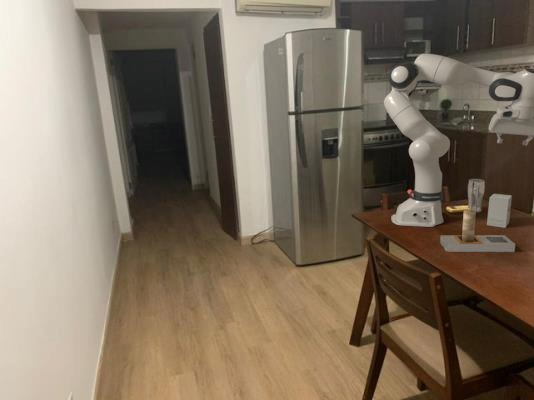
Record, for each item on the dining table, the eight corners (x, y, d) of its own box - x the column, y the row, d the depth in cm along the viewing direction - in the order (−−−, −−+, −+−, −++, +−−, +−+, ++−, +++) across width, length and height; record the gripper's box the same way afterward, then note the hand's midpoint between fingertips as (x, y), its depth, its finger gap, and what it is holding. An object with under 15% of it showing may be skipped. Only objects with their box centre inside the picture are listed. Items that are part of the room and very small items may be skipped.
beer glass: (481, 209, 190) (483, 178, 186) (483, 213, 184) (486, 182, 180) (465, 208, 193) (467, 178, 189) (467, 212, 186) (469, 182, 182)
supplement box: (506, 228, 164) (509, 199, 160) (486, 225, 168) (488, 197, 165) (509, 223, 169) (512, 195, 166) (490, 220, 174) (492, 193, 171)
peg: (461, 248, 147) (463, 212, 143) (461, 244, 150) (463, 209, 146) (473, 249, 145) (476, 213, 141) (472, 245, 148) (475, 210, 145)
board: (446, 251, 145) (447, 243, 144) (440, 242, 153) (440, 234, 152) (514, 251, 141) (515, 243, 140) (503, 242, 149) (504, 234, 148)
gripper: (549, 111, 156) (537, 143, 163) (492, 107, 161) (484, 139, 168) (554, 115, 151) (542, 149, 158) (496, 112, 156) (486, 144, 163)
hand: (511, 144), depth 163 cm, fingers open, 8 cm apart
